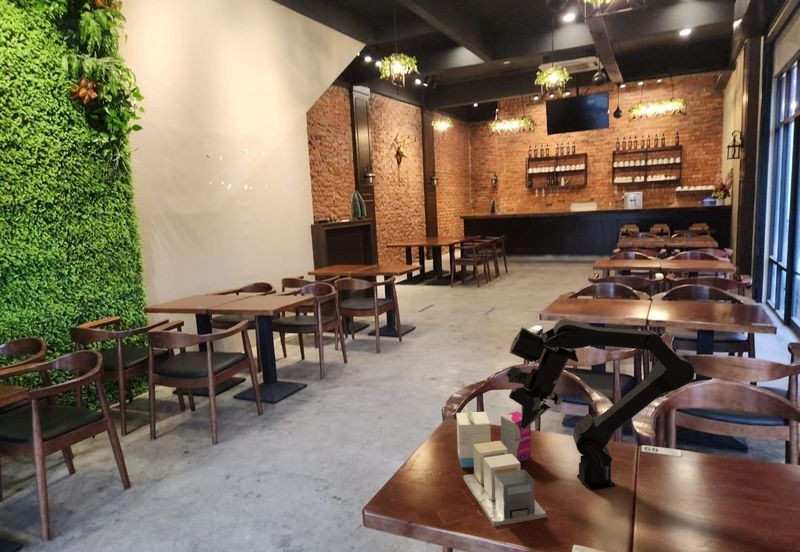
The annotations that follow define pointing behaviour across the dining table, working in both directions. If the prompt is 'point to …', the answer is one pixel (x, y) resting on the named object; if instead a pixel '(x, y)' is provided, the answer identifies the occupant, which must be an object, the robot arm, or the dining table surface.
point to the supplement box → (516, 436)
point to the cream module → (497, 470)
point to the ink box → (471, 434)
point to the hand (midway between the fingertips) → (523, 427)
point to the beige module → (486, 451)
